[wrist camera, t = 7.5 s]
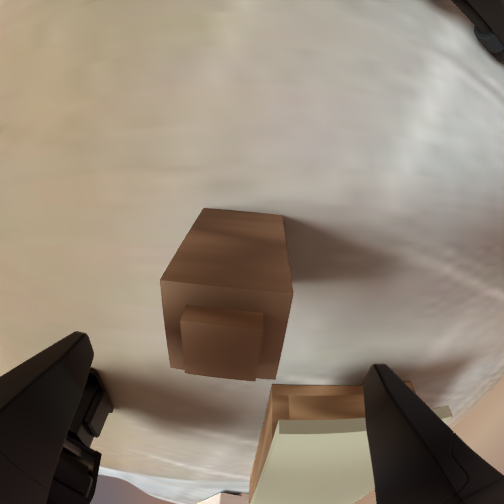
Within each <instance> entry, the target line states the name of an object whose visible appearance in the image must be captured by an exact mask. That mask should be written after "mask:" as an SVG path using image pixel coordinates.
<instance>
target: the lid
mask: <svg viewBox="0 0 504 504" xmlns="http://www.w3.org/2000/svg"><path fill="white" fill-rule="evenodd" d="M431 410H432V411H433V412H434V413H435V414H436V415H437V416H438V417H439V418H440V419H441V420H442V421H443V422H444V423H445V424H446V423H447V422H448V421H449V420H450V419H451V418H452V417H453V416H452V413H451V411H450V409H449V406H444V407H439V408H434V409H431ZM373 489H375V485H374V477H373V470H372V463H371V456H370V450H369V444H368V438H367V431H366V422H365V418H355V419H336V420H279V421H278V424H277V427H276V431H275V434H274V437H273V440H272V443H271V446H270V449H269V452H268V455H267V458H266V461H265V464H264V467H263V470H262V473H261V476H260V478H259V481H258V484H257V487H256V490H255V492H254V495H253V498H252V500H251V503H250V504H354V503H355V502H357V501H358V500H360V499H361V498H362V497H364V496H365V495H367V494H368V493H369V492H371V491H372V490H373Z"/></svg>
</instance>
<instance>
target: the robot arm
mask: <svg viewBox="0 0 504 504" xmlns="http://www.w3.org/2000/svg"><path fill="white" fill-rule="evenodd" d="M93 357H94V352H93V348H92V345H91V343H90V340H89V337H88V335H87V334H86V333H83V332H79V331H76V332H73V333H72V334H70V335H68V336H67V337H65V338H63V339H62V340H60V341H58V342H57V343H55V344H53V345H52V346H50V347H48V348H47V349H45V350H43V351H42V352H40V353H38V354H37V355H35V356H33V357H32V358H30V359H28V360H27V361H25V362H23V363H22V364H20V365H19V366H17V367H15V368H14V369H12V370H10V371H9V372H7V373H6V374H4V375H2V376H1V377H0V504H89V503H90V502H91V500H92V498H93V496H94V493H95V488H96V483H97V477H98V471H99V465H100V460H101V455H102V454H101V453H99V452H98V451H94V450H93V449H91V448H90V445H91V443H92V440H93V438H94V437H96V438H97V437H99V435H100V433H101V430H102V428H103V426H104V423H105V421H106V418H107V416H108V413H112V412H113V410H114V408H113V406H112V404H111V402H110V400H109V398H108V395H107V393H106V391H105V389H104V386H103V384H102V382H101V379H100V377H99V375H98V373H97V372H96V371H94V370H92V369H90V367H91V364H92V360H93ZM363 392H364V406H365V422H366V431H367V438H368V444H369V450H370V456H371V463H372V470H373V477H374V485H375V492H376V501H377V504H504V475H502V474H501V473H500V472H498V471H497V470H496V469H495V468H494V467H492V466H491V465H490V464H488V463H487V462H486V461H485V460H484V459H482V458H481V457H480V456H479V455H478V454H477V453H475V452H474V451H473V450H472V449H471V448H470V447H469V446H467V444H465V443H464V442H463V441H462V440H461V439H460V438H459V437H458V436H457V435H456V434H455V433H453V431H452V430H451V429H450V428H449V427H448V426H447V425H446V424H445V423H444V422H443V421H442V420H441V419H440V418H439V417H438V416H437V415H436V414H435V413H434V412H433V411H432V410H431V409H430V408H429V407H428V406H427V405H426V404H425V403H424V402H423V401H422V400H421V399H420V398H419V397H418V396H417V395H416V394H415V393H414V392H413V391H412V390H411V389H410V388H409V387H408V386H407V385H406V384H405V383H404V382H403V381H402V380H401V379H400V378H399V377H398V376H397V375H396V374H395V373H394V372H393V371H392V370H391V369H390V368H389V367H388V366H387V365H386V364H373V365H372V366H371V368H370V370H369V372H368V374H367V376H366V378H365V380H364V383H363Z"/></svg>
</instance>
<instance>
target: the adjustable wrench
mask: <svg viewBox="0 0 504 504" xmlns="http://www.w3.org/2000/svg"><path fill="white" fill-rule="evenodd" d="M451 1H452V2H453V3H454V4H455V5H456V6H457V7H458V8H459V9H460V10H461V11H462V12H463V13H464V14H465V15H466V16H467V17H468V18H469V19H470V20H471V21H472V23H473V24H474V25H475V29H474V33H475V35H476V37H477V38H478V39H479V40H480V41H481V43H482V44H483V45H484V46H485V47H486V49H487V50H488V51H490V52H492V54H493V55H494V56H495V58H496V59H497V60H499V61H504V0H451Z"/></svg>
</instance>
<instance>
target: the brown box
mask: <svg viewBox="0 0 504 504" xmlns="http://www.w3.org/2000/svg"><path fill="white" fill-rule="evenodd" d="M404 383H405V384H406V385H407V386H408V387H409V388H410V389H411V390H412V391H413V392H414V393H415V391H414V388H413V386H412V384H411V382H404ZM355 418H365V406H364V392H363V385H346V386H305V385H278V384H272V387H271V392H270V396H269V401H268V405H267V410H266V414H265V419H264V423H263V427H262V431H261V436H260V440H259V444H258V448H257V452H256V456H255V460H254V464H253V468H252V472H251V476H250V490H249V504H250V503H251V500H252V498H253V495H254V492H255V490H256V487H257V484H258V481H259V478H260V476H261V473H262V470H263V467H264V464H265V461H266V458H267V455H268V452H269V449H270V446H271V443H272V440H273V437H274V434H275V431H276V427H277V424H278V421H279V420H336V419H355Z"/></svg>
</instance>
